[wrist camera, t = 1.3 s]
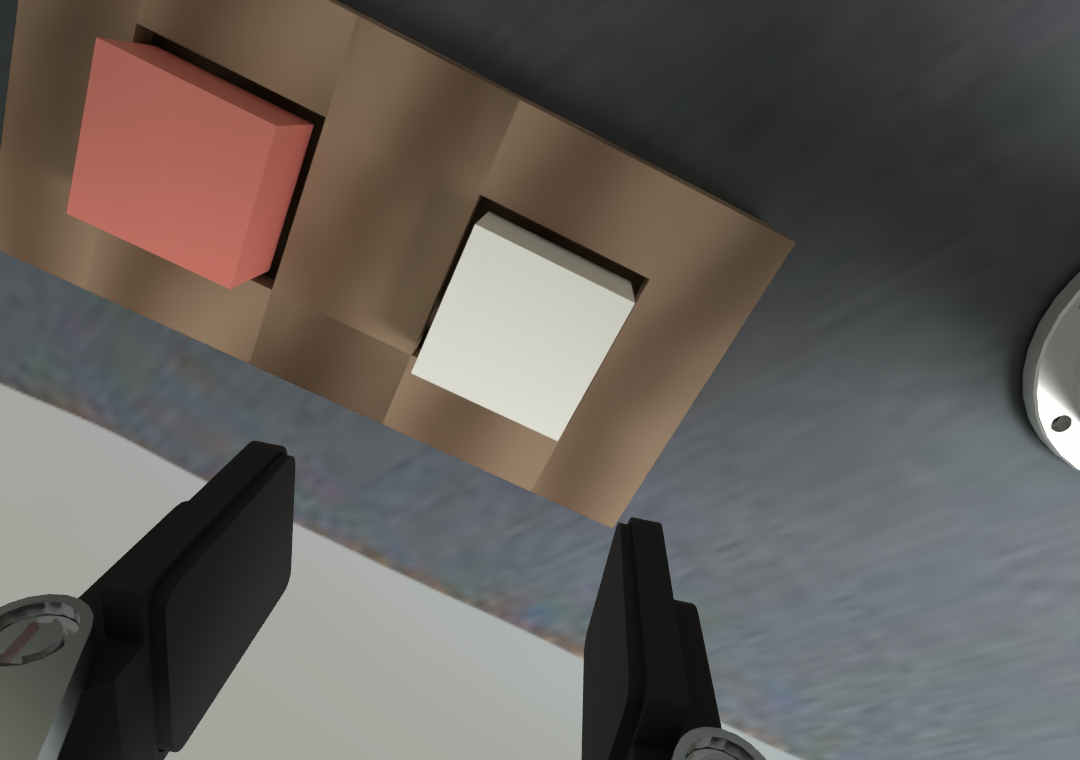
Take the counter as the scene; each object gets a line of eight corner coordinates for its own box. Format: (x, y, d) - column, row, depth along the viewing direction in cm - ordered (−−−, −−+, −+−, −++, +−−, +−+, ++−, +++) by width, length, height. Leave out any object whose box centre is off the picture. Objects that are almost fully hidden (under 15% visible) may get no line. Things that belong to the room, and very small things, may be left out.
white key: (630, 281, 25) (635, 303, 22) (561, 407, 27) (557, 441, 24) (488, 211, 24) (475, 224, 22) (430, 346, 27) (410, 373, 24)
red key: (314, 124, 24) (276, 126, 21) (269, 270, 26) (230, 289, 23) (156, 45, 23) (96, 36, 20) (124, 202, 25) (66, 213, 23)
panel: (763, 220, 28) (795, 242, 23) (610, 470, 33) (612, 528, 29) (139, -103, 25) (36, -151, 21) (80, 225, 31) (-12, 245, 26)
